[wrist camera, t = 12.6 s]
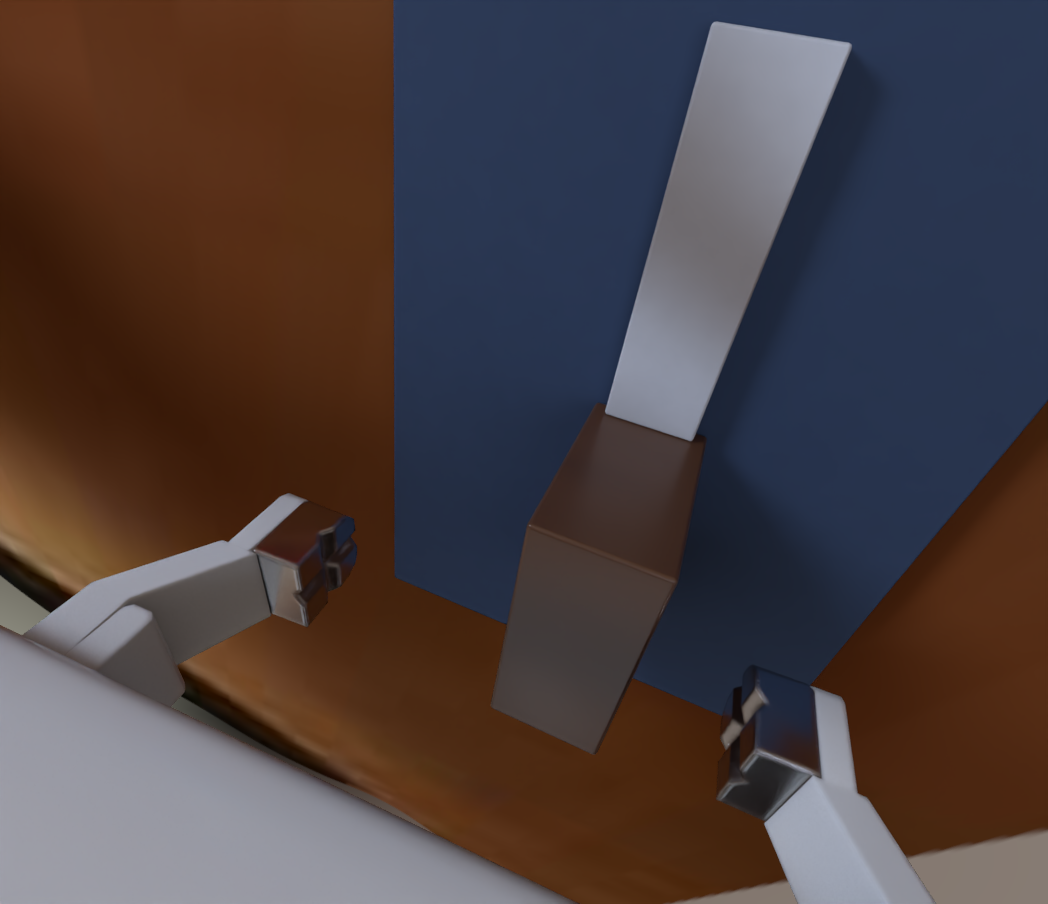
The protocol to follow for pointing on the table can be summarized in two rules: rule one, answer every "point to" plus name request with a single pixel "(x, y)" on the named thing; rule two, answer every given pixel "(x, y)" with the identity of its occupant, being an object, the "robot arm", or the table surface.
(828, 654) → the desk mat
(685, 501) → the letter opener
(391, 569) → the table surface
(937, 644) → the table surface
